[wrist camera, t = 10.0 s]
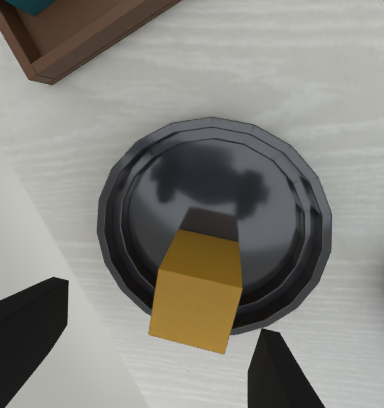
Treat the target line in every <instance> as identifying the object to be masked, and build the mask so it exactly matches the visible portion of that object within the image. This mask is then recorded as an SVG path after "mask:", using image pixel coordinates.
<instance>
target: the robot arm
mask: <svg viewBox="0 0 384 408" xmlns="http://www.w3.org/2000/svg"><path fill="white" fill-rule="evenodd" d="M68 285H69V281H68V280H64V279H60V278H56V277H52V278H49V279H47V280H45V281H42V282H40V283H38V284H36V285H33V286H31V287H29V288H27V289H25V290H23V291H20V292H18V293H16V294H14V295H11V296H9V297H7V298H5V299H3V300H0V408H5V407H6V406H7V404H8V403H9V402H10V401H11V399H12V398H13V397H14V396H15V394H16V393H17V392H18V391H19V389H20V388H21V387H22V386H23V385H24V383H25V382H26V381H27V380H28V378H29V377H30V376H31V375H32V374H33V372H34V371H35V370H36V369H37V367H38V366H39V365H40V364H41V362H42V361H43V360H44V359H45V357H46V356H47V355H48V353H49V352H50V351H51V349H52V348H53V346H54V345H55V343H56V342H57V340H58V339H59V337H60V335H61V334H62V332H63V331H64V329H65V327H66V326H67V318H68ZM248 408H325V407H324V405H323V404H322V402H321V400H320V399H319V397H318V396H317V394H316V393H315V391H314V389H313V388H312V386H311V385H310V383H309V381H308V380H307V378H306V377H305V375H304V373H303V372H302V370H301V368H300V367H299V365H298V363H297V362H296V360H295V358H294V356H293V355H292V353H291V351H290V350H289V348H288V346H287V344H286V343H285V341H284V339H283V338H282V336H281V334H280V333H279V332H275V331H271V330H267V329H263V328H262V329H261V332H260V335H259V339H258V342H257V345H256V348H255V351H254V354H253V357H252V360H251V363H250V366H249V369H248Z"/></svg>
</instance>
